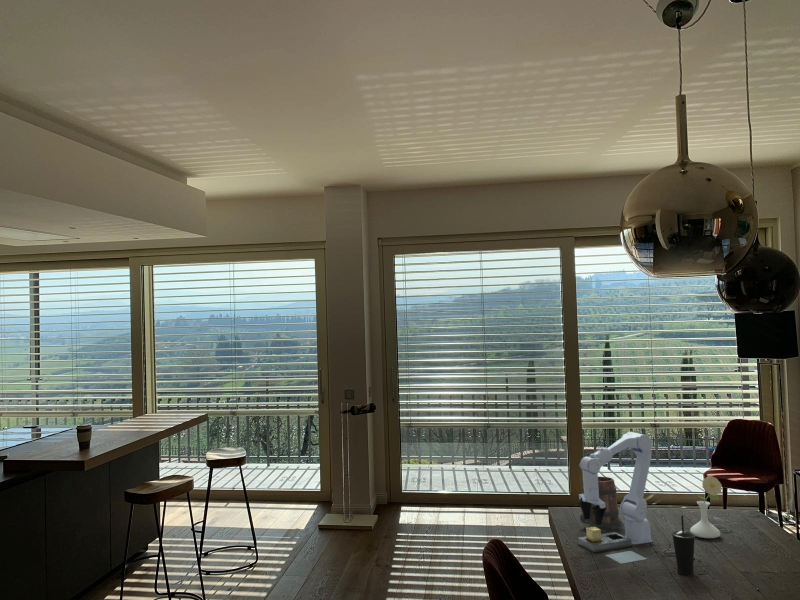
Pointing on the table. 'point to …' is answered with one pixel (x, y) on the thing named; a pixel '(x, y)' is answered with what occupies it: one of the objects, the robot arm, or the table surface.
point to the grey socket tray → (606, 542)
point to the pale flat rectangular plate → (626, 557)
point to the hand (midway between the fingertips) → (592, 521)
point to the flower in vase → (704, 526)
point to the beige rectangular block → (593, 534)
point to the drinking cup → (684, 550)
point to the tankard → (610, 499)
